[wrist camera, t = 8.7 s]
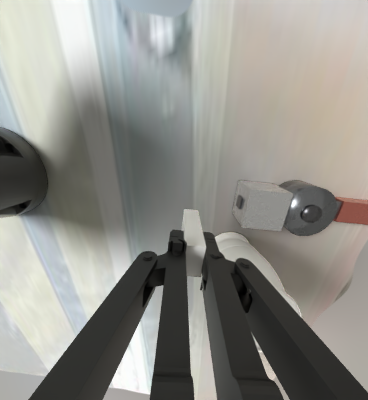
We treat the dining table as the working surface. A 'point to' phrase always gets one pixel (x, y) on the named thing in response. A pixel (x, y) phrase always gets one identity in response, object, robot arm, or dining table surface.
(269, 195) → the grey cube
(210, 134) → the dining table surface
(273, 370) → the robot arm
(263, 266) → the jar
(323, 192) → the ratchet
